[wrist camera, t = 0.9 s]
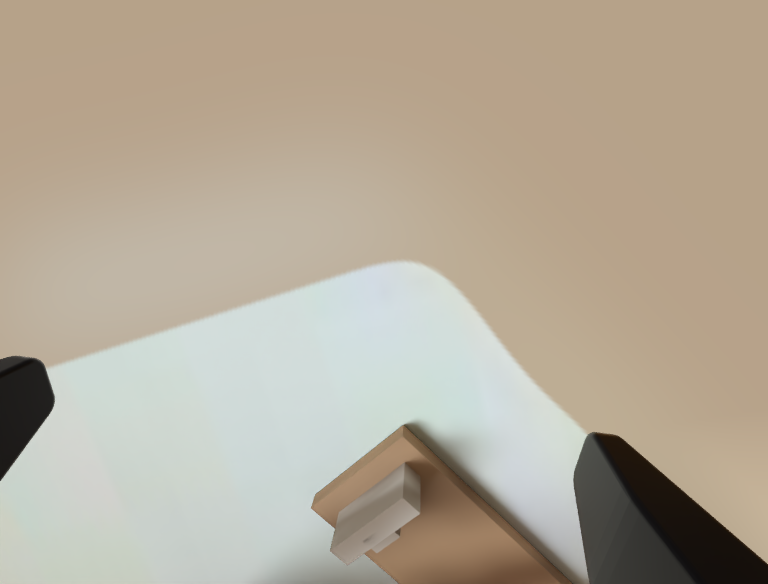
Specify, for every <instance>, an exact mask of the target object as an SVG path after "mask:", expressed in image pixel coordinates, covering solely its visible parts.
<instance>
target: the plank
mask: <svg viewBox="0 0 768 584" xmlns="http://www.w3.org/2000/svg"><path fill="white" fill-rule="evenodd" d="M311 509H313V510H314V511H315V512H316V513H317V514H318V515H320V516H321V517H322V518H323V519H324V520H325V521H327V522H328V523H329V524H330V525H331V526H332V527H334V528H335V532H334V536H333V540H332V544H331V549H330V551H331V552H332V553H333V554H334V555H335V556H337V557H338V558H339V559H340V560H341V561H343V562H344V563H345V564H346V565H349V564H350V563H351V562H353V561H354V560H356V559H357V558H358V557H360V556H361V555H363V554H365V555H366V556H368V557H369V558H370V559H371V560H372V561H373V562H375V563H376V564H377V565H378V566H379V567H380V568H382V569H383V570H384V571H385V572H386V573H388V574H389V575H390V576H391V577H392V578H393V579H395V580H396V581H397V582H398V583H399V584H572V583H571V582H570V581H569V580H568V579H567V578H566V577H565V576H564V575H563V574H562V573H561V572H560V571H559V570H558V569H556V568H555V567H554V566H553V565H552V564H551V563H550V562H549V561H548V560H547V559H546V558H545V557H544V556H543V555H542V554H540V553H539V552H538V551H537V550H536V549H535V548H534V547H533V546H532V545H531V544H530V543H529V542H528V541H527V540H526V539H524V538H523V537H522V536H521V535H520V534H519V533H518V532H517V531H516V530H515V529H514V528H513V527H512V526H511V525H510V524H508V523H507V522H506V521H505V520H504V519H503V518H502V517H501V516H500V515H499V514H498V513H497V512H496V511H495V510H494V509H493V508H491V507H490V506H489V505H488V504H487V503H486V502H485V501H484V500H483V499H482V498H481V497H480V496H479V495H478V494H477V493H475V492H474V491H473V490H472V489H471V488H470V487H469V486H468V485H467V484H466V483H465V482H464V481H463V480H462V479H461V478H459V477H458V476H457V475H456V474H455V473H454V472H453V471H452V470H451V469H450V468H449V467H448V466H447V465H446V464H445V463H443V462H442V461H441V460H440V459H439V458H438V457H437V456H436V455H435V454H434V453H433V452H432V451H431V450H430V449H429V448H427V447H426V446H425V445H424V444H423V443H422V442H421V441H420V440H419V439H418V438H417V437H416V436H415V435H414V434H413V433H411V432H410V431H409V430H408V429H407V428H406V427H405V426H404V425H403V426H401V427H400V428H399V429H398V430H396V431H395V432H394V433H393V434H391V435H390V436H389V437H388V438H386V439H385V440H384V441H382V442H381V443H380V444H379V445H377V446H376V447H375V448H374V449H372V450H371V451H370V452H369V453H367V454H366V455H365V456H364V457H362V458H361V459H360V460H359V461H357V462H356V463H355V464H353V465H352V466H351V467H350V468H348V469H347V470H346V471H345V472H343V473H342V474H341V475H340V476H338V477H337V478H336V479H335V480H333V481H332V482H331V483H330V484H328V485H327V486H326V487H324V488H323V489H322V490H321V491H319V492H318V493H317V494H316V495H315V497H314V500H313V503H312V507H311Z"/></svg>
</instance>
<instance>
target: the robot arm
mask: <svg viewBox="0 0 768 584" xmlns="http://www.w3.org/2000/svg"><path fill="white" fill-rule="evenodd" d="M54 403H55V396H54V393H53V390H52V387H51V383H50V380H49V377H48V374H47V371H46V368H45V366H44V364H43V363H42V362H41V361H40V360H38V359H36V358H30V357H22V356H11V357H7V358H3V359H0V481H1V480H2V478H3V477H4V476H5V474H6V473H7V471H8V470H9V469H10V467H11V466H12V465H13V463H14V462H15V461H16V459H17V458H18V456H19V455H20V454H21V452H22V451H23V450H24V448H25V447H26V446H27V444H28V443H29V441H30V440H31V439H32V437H33V436H34V435H35V433H36V432H37V431H38V429H39V428H40V426H41V425H42V424H43V422H44V421H45V420H46V418H47V417H48V416H49V414H50V413H51V411H52V409H53V407H54ZM574 490H575V496H576V503H577V509H578V515H579V521H580V528H581V534H582V540H583V546H584V553H585V559H586V565H587V571H588V577H589V582H590V584H768V564H767V563H766V562H765V561H763V560H762V559H761V558H760V557H759V556H758V555H756V554H755V553H754V552H753V551H752V550H751V549H750V548H748V547H747V546H746V545H745V544H744V543H743V542H741V541H740V540H739V539H738V538H737V537H736V536H734V535H733V534H732V533H731V532H729V530H727V529H726V528H725V527H724V526H723V525H722V524H720V523H719V522H718V521H717V520H716V519H715V518H714V517H712V516H711V515H710V514H709V513H708V512H707V511H706V510H704V509H703V508H702V507H701V506H700V505H699V504H697V503H696V502H695V501H694V500H692V498H690V497H689V496H688V495H687V494H686V493H685V492H684V491H682V490H681V489H680V488H679V487H677V485H675V484H674V483H673V482H672V481H671V480H669V479H668V478H667V477H666V476H665V475H664V474H663V473H662V472H660V471H659V470H658V469H657V468H656V467H655V466H653V465H652V464H651V463H650V462H649V461H648V460H646V459H645V458H644V457H643V456H642V455H641V454H639V453H638V452H637V451H636V450H635V449H634V448H632V447H631V446H630V445H629V444H628V443H627V442H626V441H624V440H623V439H622V438H620V437H619V436H616V435H613V434H604V433H597V432H592V433H590V434H588V436H587V437H586V439H585V442H584V444H583V447H582V450H581V453H580V456H579V459H578V462H577V465H576V468H575V471H574Z"/></svg>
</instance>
